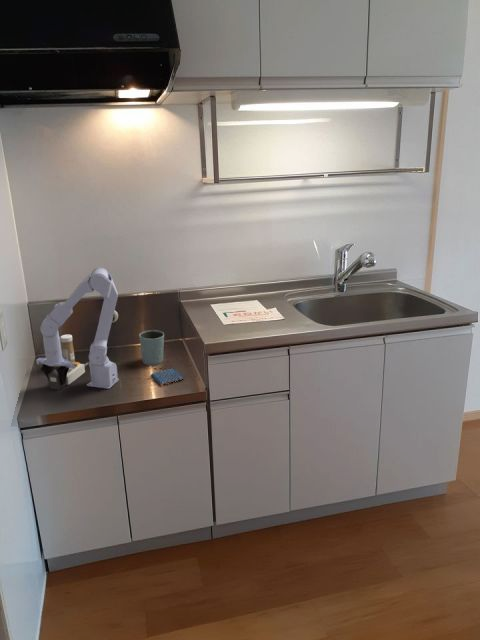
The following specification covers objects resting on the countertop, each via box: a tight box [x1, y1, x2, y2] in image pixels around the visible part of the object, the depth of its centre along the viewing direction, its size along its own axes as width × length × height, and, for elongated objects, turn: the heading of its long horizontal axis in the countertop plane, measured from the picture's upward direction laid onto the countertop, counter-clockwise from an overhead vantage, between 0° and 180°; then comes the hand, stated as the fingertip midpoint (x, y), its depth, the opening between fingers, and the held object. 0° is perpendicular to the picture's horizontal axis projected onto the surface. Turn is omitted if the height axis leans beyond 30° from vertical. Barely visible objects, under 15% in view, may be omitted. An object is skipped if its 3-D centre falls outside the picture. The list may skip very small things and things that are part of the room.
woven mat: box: [150, 367, 186, 387], centre depth 200 cm, size 10×11×2 cm
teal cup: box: [138, 329, 165, 366], centre depth 214 cm, size 10×10×12 cm
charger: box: [48, 368, 67, 390], centre depth 194 cm, size 4×6×6 cm, turn 165°
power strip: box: [65, 361, 89, 386], centre depth 204 cm, size 6×19×4 cm, turn 165°
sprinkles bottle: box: [59, 334, 76, 363], centre depth 209 cm, size 5×5×13 cm
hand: (57, 383), depth 193 cm, fingers open, 4 cm apart
